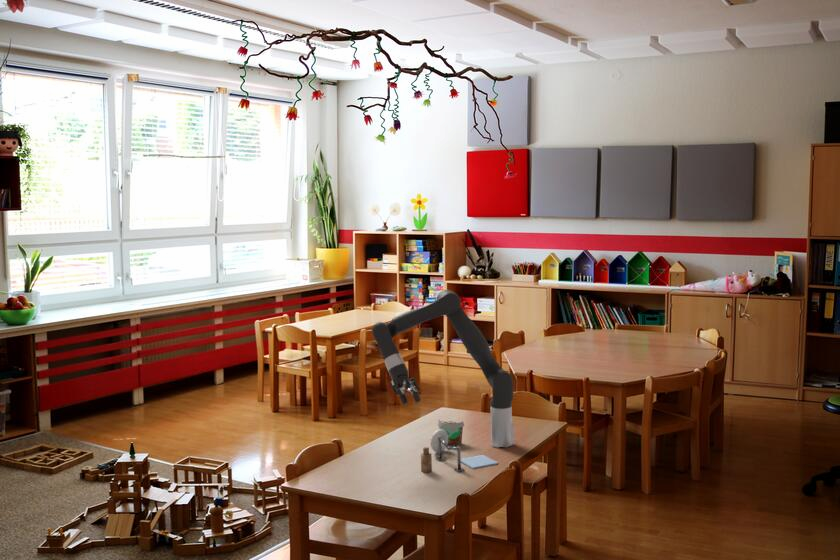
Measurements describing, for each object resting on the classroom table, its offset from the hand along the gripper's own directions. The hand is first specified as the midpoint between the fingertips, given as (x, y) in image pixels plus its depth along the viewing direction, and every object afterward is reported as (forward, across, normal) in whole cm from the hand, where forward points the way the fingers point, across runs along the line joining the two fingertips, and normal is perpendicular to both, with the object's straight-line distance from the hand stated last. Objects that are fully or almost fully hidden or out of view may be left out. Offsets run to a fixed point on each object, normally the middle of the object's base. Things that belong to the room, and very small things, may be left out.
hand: (412, 402), depth 320 cm
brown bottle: (+27, -1, +7) cm, 28 cm away
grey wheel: (+19, +22, +13) cm, 32 cm away
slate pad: (+31, +19, -4) cm, 37 cm away
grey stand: (+28, +10, +3) cm, 30 cm away
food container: (+16, +34, +15) cm, 40 cm away
